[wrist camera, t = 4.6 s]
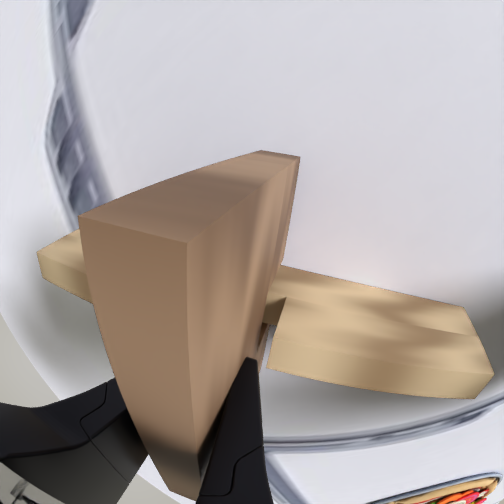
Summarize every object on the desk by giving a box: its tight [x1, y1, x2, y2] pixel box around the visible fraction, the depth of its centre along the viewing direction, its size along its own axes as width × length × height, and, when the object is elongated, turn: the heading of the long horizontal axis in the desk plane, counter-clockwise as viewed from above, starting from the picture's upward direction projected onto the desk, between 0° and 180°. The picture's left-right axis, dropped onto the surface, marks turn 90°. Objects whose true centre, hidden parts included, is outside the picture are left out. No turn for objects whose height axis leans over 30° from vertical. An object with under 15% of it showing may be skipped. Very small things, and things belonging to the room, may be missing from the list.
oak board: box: [37, 229, 495, 399], centre depth 12 cm, size 22×2×5 cm, turn 83°
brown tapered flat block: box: [78, 150, 300, 501], centre depth 9 cm, size 12×2×9 cm, turn 173°
